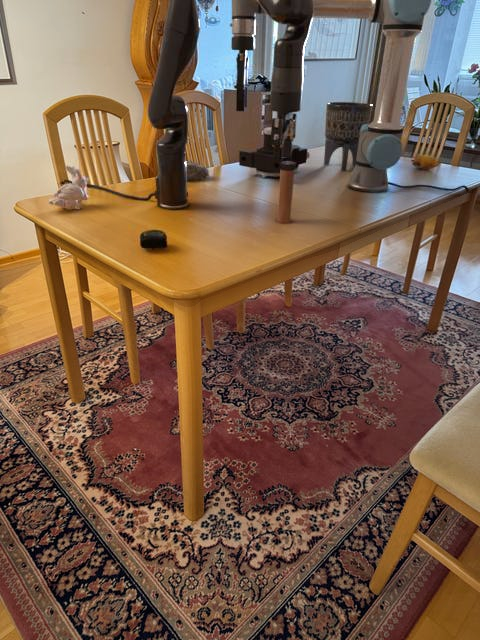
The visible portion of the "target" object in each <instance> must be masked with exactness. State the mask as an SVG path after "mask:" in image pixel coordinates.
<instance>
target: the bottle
mask: <svg viewBox="0 0 480 640" xmlns="http://www.w3.org/2000/svg"><path fill="white" fill-rule="evenodd" d="M294 179H295V172H294V170H282V169H281V171H280V176H279V189H278V202H277V203H278V205H277V219H276V222H277V223H280V224H288V223H291V220H292V219H291V218H292V205H293V194H294V193H293V192H294V182H295V181H294Z"/></svg>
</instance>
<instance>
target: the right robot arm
mask: <svg viewBox="0 0 480 640" xmlns="http://www.w3.org/2000/svg"><path fill="white" fill-rule="evenodd" d="M431 4H432V0H313V5H314V12H313V19H349V20H350V19H352V20H353V19H354V20H367V21H368V23H370V24H371V23H374V24H383V25H382V33H383V34H384V36H385V38H386V39H385V43H384V44H385V45H384V51H383V57H382V58H383V59H382V63H381V64H382V65H381V70H380V71H381V72H380V77H379V82H378V89H377V97H376V101H375V110H374V116H373V120H372V121H371V122H369V124H364V125H362V127H361V130H360V133H359V134H360V137H359V144H358V151H357V158H356V165H355V166H354V167H353V171H351V174H350V176H349V179H348V180H347V181H348V182H347V187H348V188H349V189H351V190H354V191H358V192H363V193H364V192H365V193H382V192H386V191H388V189H389V185H390V186H393V187H396V188H400V189H410V188H419V187H420V188H429V189H436V190H440V191H447V192H448V191H449V192H453V191H454V192H455V191H458V190H460V189H462V188H463V189H465V191H468V190H469V187H468V186H466V185H464V184H463V185H460V186H457V187H454V188H448V187H440V186H436V185H429V184H412V185H401V184H397V183H394V182H390V181H389V178H388V173H387V172H388V171H387V169H390V168H392V167H394V166H395V165H396V164H397V163H399V161H400V159H401V158H402V155H403V152H404V149H403V148H404V147H403V141H402V139H403V138H402V137H403V132H404V126H403V124H402V123H401V117H402V112H403V107H404V101H405V97H406V96H405V95H406V90H407V84H408V79H409V73H410V67H411V62H412V59H413V51H414V45H415V41H416V38H417V37H418V36H419V35H420V34H421V33H422V32H423V31H422V30H423V25H424V20H425V16H426V14H427V13H428V12H429V9H430V7H431ZM257 14H258V15H262V14H263V15H267V14H266V12H265V11H264V10H263V9H262V7H261V6H260V4H259V3H257V2H256V1H255V0H231V22H230V23H229V27H231V35H233V36H231V46H230V47H231V50H232V51H238V53H237V54H236V58H235V59H236V60H235V61H236V83H235V84H234V90H236V101H235V102H236V103H235V104H236V106H235V111H236V112H245V111H246V109H245V108H248V87H250V83H249V79H248V78H249V65H250V57H249V54H248V51H255V49H256V38H255V37H254V36H255V35H256V25H257V23H256V22H257V19H256V16H257Z"/></svg>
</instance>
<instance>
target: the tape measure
mask: <svg viewBox="0 0 480 640" xmlns="http://www.w3.org/2000/svg"><path fill="white" fill-rule="evenodd" d="M167 236H168V235H167V234H166V232H165V231H164V230H161V229H147V230H144V231H143V232H141V233H140V235H139V240H140V241H139V245H140V246H139V247H141V248H142V249H146V250H157V249H167V248H168V240H167V239H168V237H167Z"/></svg>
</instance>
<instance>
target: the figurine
mask: <svg viewBox="0 0 480 640" xmlns="http://www.w3.org/2000/svg"><path fill="white" fill-rule="evenodd" d="M65 170H66V171H67V172H68V173H69V174H70V175H71V179H72V180H71V181H72V183H64V184H62V186H61V187H59V188H58V189H57V190H56V192H55V193H54V194H53V195H52V198H50V199H49V200H47V203H48V205H51V206H53V205H55V206H56V207H58V208H61V209H63V208H64V209H66V210H80V207H78V205H82V204H84V202H83V201H88V200H89V199H90V198H89V195H88V193H87V192H88V189H87V188H86V187H87V186H86V184H88V182H89V181H90V180H89V179H90V178H89V177H86V176H84V175H82V172H81V170H80V169H79V168H76V167H75V166H74V165H73V166H70V165H66V166H65Z"/></svg>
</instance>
